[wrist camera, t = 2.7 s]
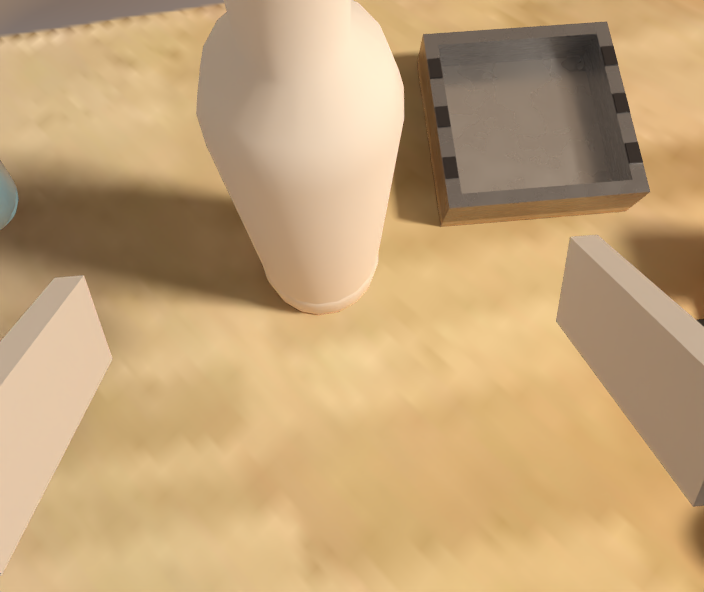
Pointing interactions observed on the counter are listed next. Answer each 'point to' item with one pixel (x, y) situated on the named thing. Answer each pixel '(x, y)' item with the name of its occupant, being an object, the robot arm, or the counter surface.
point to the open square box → (528, 124)
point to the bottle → (304, 139)
